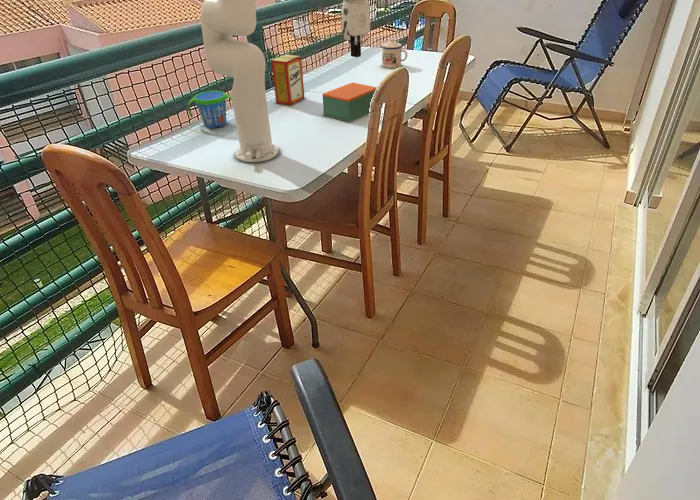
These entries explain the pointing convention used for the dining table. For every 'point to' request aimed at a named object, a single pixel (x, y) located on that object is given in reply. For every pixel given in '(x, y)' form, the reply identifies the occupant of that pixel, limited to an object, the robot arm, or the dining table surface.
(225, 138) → the dining table surface
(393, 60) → the teacup with lid
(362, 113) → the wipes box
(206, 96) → the snack cup
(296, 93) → the baking soda box
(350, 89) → the lid
